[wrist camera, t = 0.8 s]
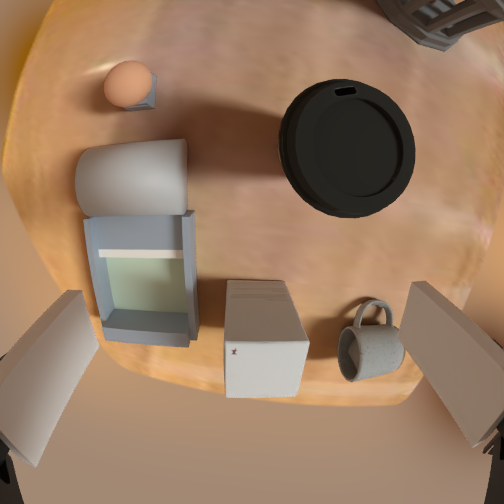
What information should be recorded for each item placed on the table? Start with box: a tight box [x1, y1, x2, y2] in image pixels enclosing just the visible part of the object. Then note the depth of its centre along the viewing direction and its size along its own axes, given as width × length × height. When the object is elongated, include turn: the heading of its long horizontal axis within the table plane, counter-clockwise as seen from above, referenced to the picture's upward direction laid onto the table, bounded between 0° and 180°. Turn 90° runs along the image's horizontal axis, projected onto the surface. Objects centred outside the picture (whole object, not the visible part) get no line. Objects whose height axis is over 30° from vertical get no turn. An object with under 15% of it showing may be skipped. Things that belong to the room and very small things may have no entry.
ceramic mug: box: [337, 300, 406, 382], centre depth 34 cm, size 11×8×8 cm
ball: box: [104, 61, 152, 107], centre depth 21 cm, size 5×5×5 cm
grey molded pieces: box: [75, 72, 200, 347], centre depth 28 cm, size 31×13×8 cm, turn 178°
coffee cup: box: [278, 79, 415, 218], centre depth 22 cm, size 10×10×15 cm
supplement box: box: [224, 280, 310, 398], centre depth 29 cm, size 7×7×13 cm
